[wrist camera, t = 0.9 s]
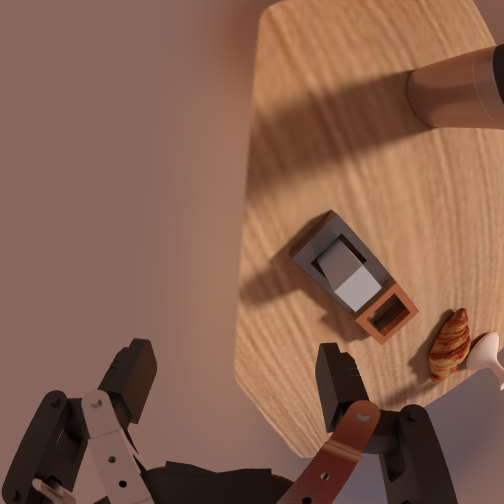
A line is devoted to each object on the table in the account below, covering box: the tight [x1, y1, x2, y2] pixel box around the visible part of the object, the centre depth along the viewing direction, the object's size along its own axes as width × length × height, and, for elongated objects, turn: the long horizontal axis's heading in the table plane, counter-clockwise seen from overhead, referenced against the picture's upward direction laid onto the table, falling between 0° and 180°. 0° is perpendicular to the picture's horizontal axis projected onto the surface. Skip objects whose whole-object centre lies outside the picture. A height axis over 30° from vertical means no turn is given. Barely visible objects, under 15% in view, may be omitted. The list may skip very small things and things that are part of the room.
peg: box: [316, 237, 382, 312], centre depth 32 cm, size 4×4×10 cm
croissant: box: [428, 308, 471, 385], centre depth 42 cm, size 21×10×8 cm, turn 9°
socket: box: [289, 210, 419, 345], centre depth 36 cm, size 22×8×4 cm, turn 48°
